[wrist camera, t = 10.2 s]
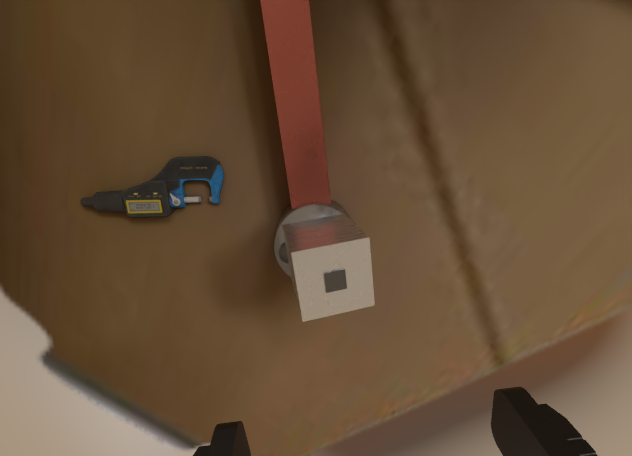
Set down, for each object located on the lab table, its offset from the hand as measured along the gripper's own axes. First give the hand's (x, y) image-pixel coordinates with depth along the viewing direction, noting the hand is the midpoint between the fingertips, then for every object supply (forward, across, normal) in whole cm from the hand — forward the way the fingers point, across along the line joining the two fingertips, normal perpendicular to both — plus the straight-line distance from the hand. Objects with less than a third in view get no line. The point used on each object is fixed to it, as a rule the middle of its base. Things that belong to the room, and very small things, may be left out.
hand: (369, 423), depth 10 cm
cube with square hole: (+16, +1, +1) cm, 16 cm away
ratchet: (+20, +1, -9) cm, 22 cm away
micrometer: (+21, +14, -5) cm, 26 cm away
